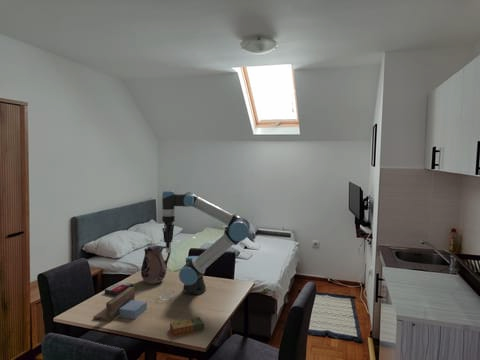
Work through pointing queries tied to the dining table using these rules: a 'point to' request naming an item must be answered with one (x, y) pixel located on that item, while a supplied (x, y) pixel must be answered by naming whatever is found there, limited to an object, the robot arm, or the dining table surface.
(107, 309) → the brown long angled block
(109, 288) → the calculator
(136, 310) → the slate block
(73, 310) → the dining table surface
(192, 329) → the carton
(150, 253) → the ceramic pitcher
